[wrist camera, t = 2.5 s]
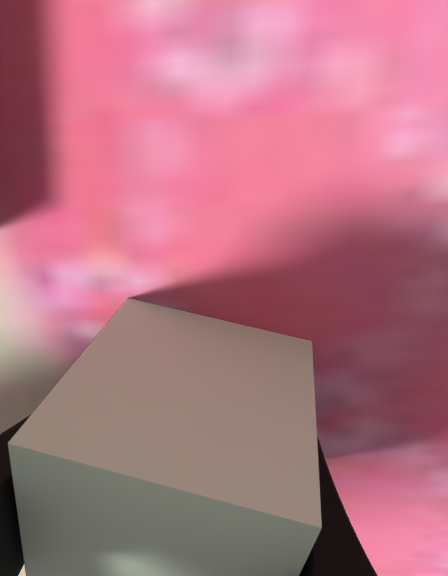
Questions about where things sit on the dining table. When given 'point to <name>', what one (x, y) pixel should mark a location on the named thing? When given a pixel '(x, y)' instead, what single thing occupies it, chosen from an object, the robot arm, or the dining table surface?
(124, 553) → the green cube
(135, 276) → the dining table surface
